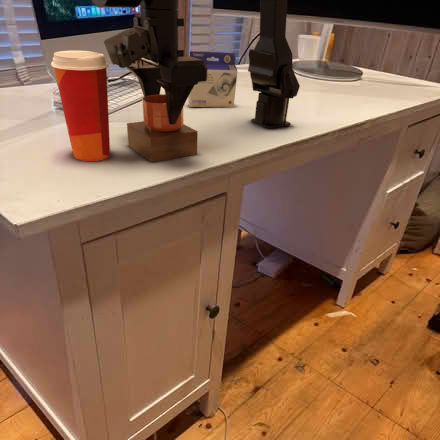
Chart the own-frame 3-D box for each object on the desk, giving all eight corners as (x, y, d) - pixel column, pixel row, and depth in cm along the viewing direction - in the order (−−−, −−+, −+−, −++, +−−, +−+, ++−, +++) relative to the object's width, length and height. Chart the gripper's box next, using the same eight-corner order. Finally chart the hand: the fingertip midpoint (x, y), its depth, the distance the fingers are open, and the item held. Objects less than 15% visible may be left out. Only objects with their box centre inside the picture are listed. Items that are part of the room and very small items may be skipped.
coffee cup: (96, 143, 75) (85, 48, 66) (126, 155, 71) (118, 56, 62) (55, 154, 70) (36, 52, 61) (85, 167, 66) (70, 60, 57)
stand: (171, 139, 79) (171, 117, 77) (197, 154, 74) (197, 131, 71) (128, 146, 75) (126, 123, 73) (151, 162, 69) (150, 138, 67)
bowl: (171, 119, 76) (170, 92, 73) (190, 129, 71) (190, 101, 69) (137, 124, 73) (135, 96, 70) (155, 134, 68) (154, 105, 66)
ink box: (189, 108, 99) (190, 52, 92) (187, 105, 101) (188, 51, 94) (235, 107, 102) (239, 53, 95) (232, 104, 104) (236, 52, 97)
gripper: (83, 1, 64) (95, 109, 73) (138, 13, 52) (144, 140, 61) (148, 3, 69) (152, 103, 78) (211, 15, 57) (207, 131, 67)
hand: (161, 118), depth 71 cm, fingers closed on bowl, 7 cm apart
